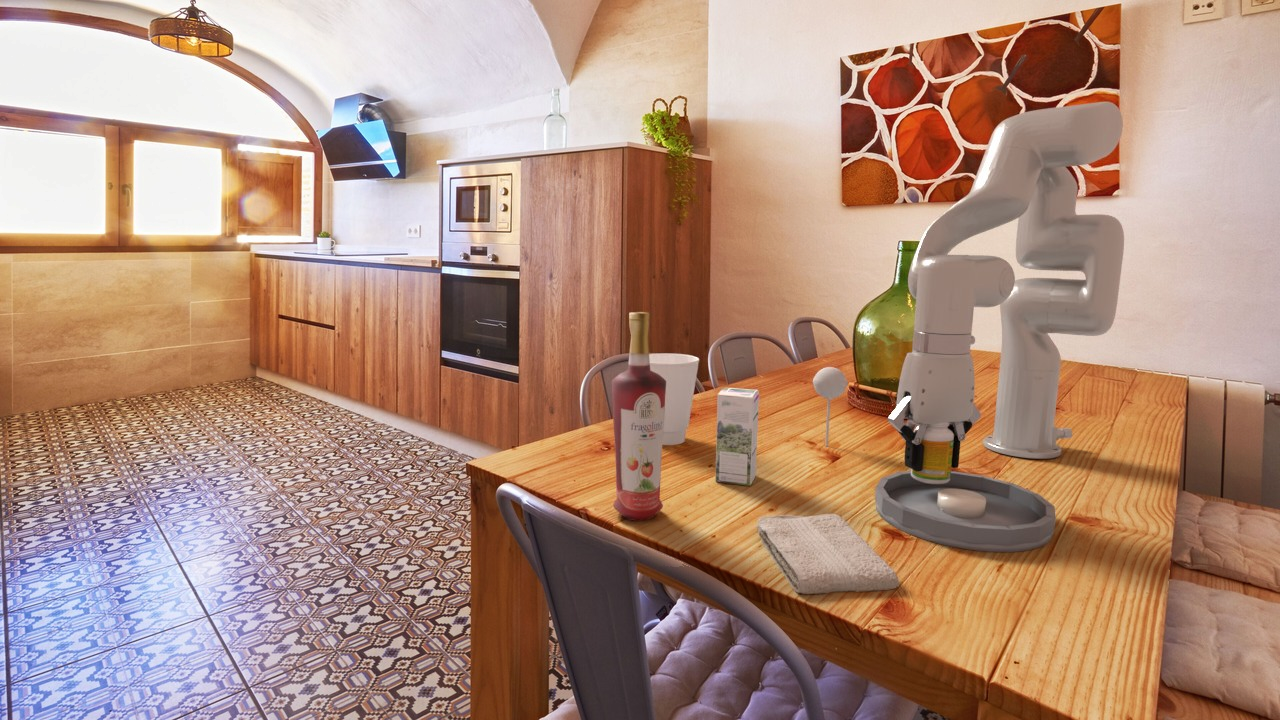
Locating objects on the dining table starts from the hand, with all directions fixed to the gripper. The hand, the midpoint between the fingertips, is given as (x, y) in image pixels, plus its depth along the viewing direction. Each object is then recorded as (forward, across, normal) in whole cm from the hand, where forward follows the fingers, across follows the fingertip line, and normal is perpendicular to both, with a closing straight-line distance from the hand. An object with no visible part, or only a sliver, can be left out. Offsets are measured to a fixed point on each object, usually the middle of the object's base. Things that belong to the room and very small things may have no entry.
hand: (931, 465), depth 99 cm
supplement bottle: (+2, 0, 0) cm, 2 cm away
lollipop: (+5, 0, -28) cm, 29 cm away
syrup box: (+6, +24, -16) cm, 29 cm away
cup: (+5, +28, -40) cm, 49 cm away
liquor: (+6, +43, -6) cm, 44 cm away
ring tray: (+5, 0, +6) cm, 8 cm away
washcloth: (+6, +25, +12) cm, 29 cm away
